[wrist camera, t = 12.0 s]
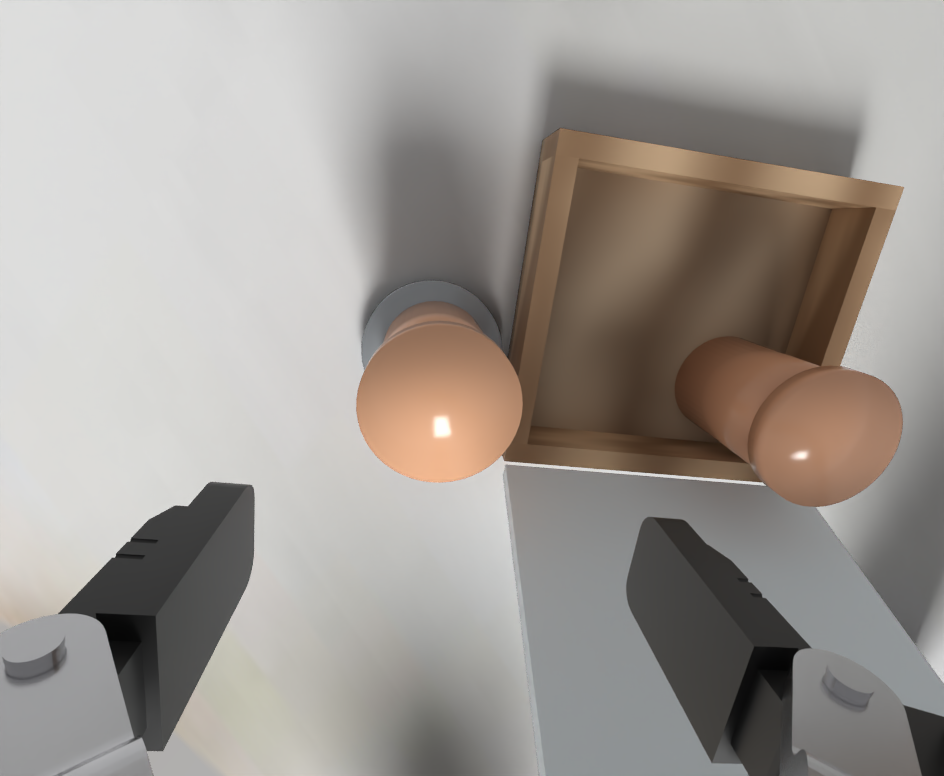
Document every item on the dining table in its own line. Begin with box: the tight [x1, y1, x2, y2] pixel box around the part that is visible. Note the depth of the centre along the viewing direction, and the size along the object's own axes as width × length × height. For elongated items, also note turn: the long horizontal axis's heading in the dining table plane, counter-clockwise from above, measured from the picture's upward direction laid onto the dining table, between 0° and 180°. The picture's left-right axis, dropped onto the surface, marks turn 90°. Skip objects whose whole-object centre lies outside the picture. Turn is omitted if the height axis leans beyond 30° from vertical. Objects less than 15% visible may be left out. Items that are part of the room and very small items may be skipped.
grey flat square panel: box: [503, 465, 944, 776], centre depth 20 cm, size 16×15×1 cm
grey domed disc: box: [362, 280, 502, 370], centre depth 26 cm, size 7×7×1 cm
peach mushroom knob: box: [356, 301, 523, 482], centre depth 22 cm, size 6×6×8 cm
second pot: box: [675, 336, 903, 507], centre depth 24 cm, size 6×6×8 cm
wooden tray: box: [502, 128, 904, 482], centre depth 25 cm, size 16×15×3 cm
